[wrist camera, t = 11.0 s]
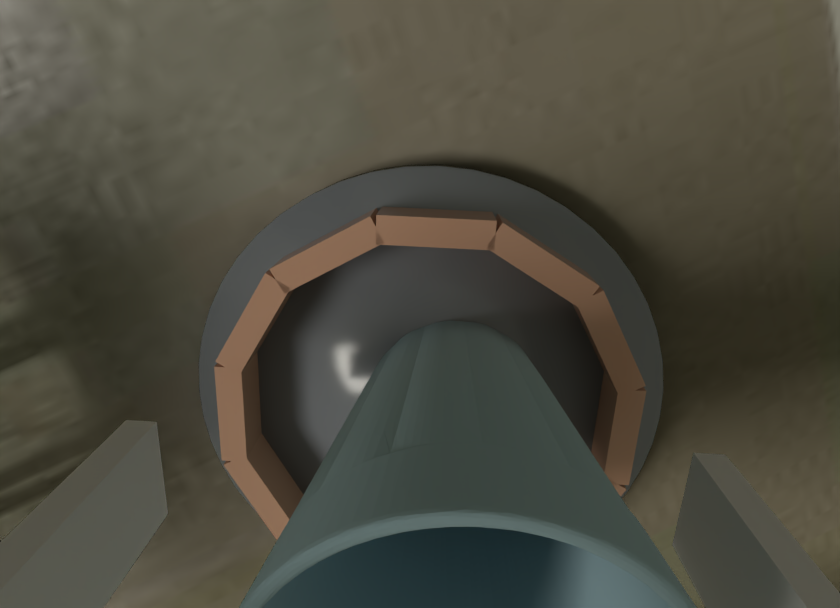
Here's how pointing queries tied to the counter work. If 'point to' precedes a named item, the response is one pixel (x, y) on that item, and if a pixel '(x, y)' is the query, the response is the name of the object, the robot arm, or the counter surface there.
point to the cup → (462, 496)
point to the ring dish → (417, 318)
